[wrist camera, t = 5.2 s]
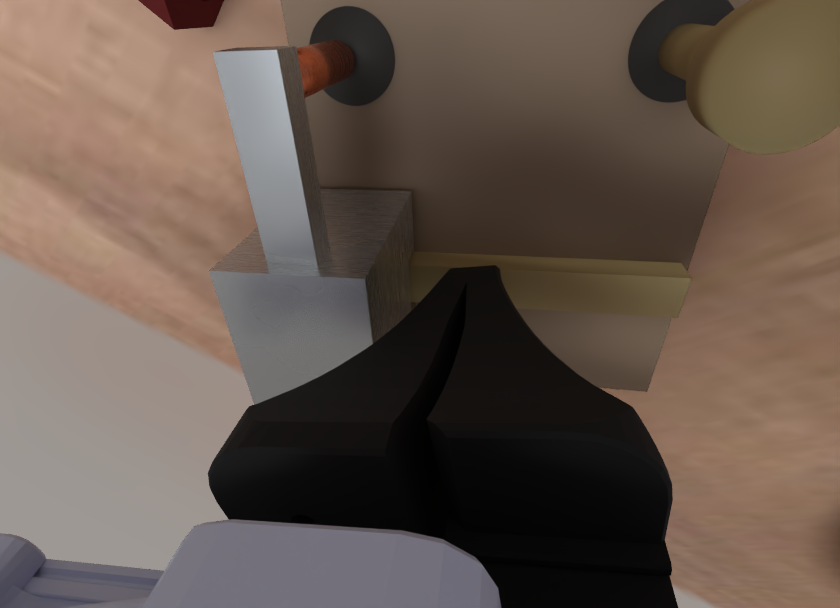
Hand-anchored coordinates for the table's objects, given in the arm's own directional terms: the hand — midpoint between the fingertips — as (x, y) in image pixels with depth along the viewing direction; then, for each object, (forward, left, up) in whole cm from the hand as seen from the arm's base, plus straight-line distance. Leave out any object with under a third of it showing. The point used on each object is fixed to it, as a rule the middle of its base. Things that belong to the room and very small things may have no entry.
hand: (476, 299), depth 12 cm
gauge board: (0, -3, -2) cm, 3 cm away
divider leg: (+3, -2, -1) cm, 4 cm away
